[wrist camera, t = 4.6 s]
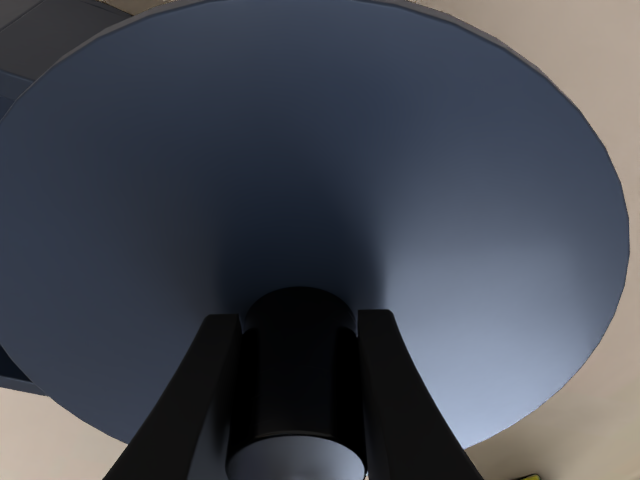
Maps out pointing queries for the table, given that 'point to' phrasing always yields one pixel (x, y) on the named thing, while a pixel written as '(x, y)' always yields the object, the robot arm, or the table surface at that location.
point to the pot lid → (304, 221)
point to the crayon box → (532, 477)
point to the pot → (29, 64)
